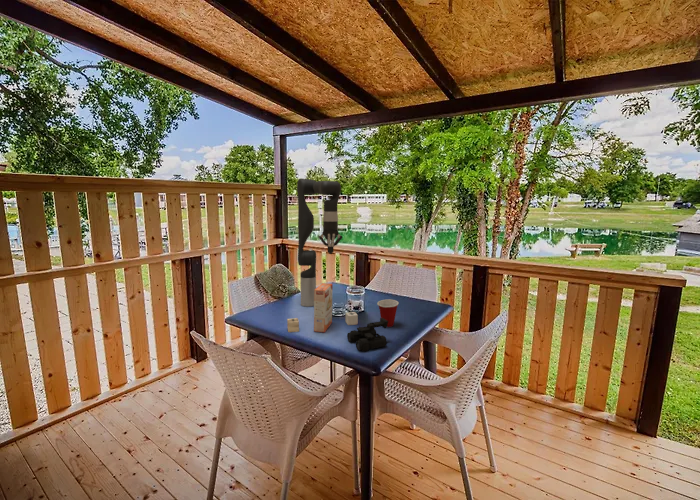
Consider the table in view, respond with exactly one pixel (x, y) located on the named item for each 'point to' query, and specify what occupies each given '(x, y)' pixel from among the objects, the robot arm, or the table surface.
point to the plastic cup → (388, 310)
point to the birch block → (293, 325)
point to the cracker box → (322, 307)
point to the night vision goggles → (368, 336)
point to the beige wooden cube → (351, 318)
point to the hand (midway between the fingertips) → (330, 253)
